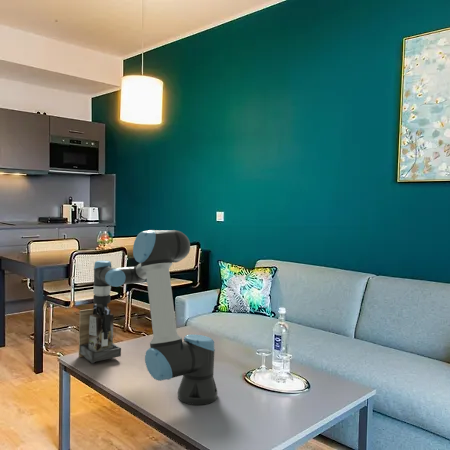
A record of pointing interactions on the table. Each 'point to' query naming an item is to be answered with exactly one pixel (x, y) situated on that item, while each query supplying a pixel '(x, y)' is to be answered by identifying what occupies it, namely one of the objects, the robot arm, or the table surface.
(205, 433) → the table surface
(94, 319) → the coffee box
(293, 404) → the table surface
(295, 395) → the table surface
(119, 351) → the grey and wood box
